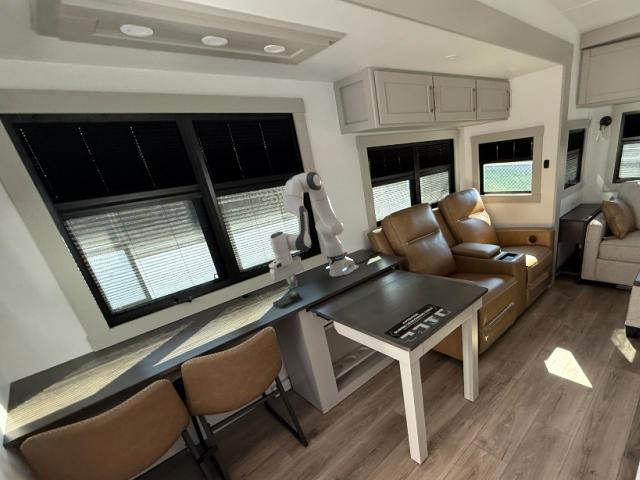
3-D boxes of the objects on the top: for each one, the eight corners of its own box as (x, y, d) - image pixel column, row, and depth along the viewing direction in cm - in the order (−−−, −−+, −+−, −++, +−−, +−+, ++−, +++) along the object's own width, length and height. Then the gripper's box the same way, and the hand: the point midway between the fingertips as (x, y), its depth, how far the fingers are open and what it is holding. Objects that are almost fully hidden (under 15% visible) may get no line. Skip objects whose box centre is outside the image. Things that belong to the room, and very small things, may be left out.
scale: (292, 296, 196) (291, 290, 194) (303, 299, 189) (301, 293, 188) (273, 305, 186) (271, 299, 185) (283, 309, 180) (281, 302, 178)
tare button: (294, 293, 190) (294, 291, 189) (298, 294, 188) (297, 291, 187) (290, 295, 188) (289, 293, 187) (293, 296, 186) (292, 293, 185)
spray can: (297, 286, 211) (289, 258, 203) (289, 288, 209) (281, 260, 202) (297, 284, 216) (290, 256, 208) (289, 286, 214) (281, 258, 207)
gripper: (296, 254, 189) (302, 275, 194) (265, 266, 175) (273, 288, 180) (302, 255, 185) (308, 276, 191) (272, 267, 171) (279, 290, 176)
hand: (291, 282), depth 185 cm, fingers closed
